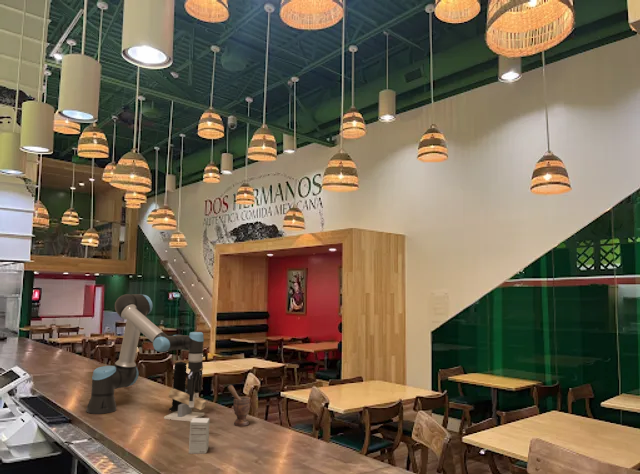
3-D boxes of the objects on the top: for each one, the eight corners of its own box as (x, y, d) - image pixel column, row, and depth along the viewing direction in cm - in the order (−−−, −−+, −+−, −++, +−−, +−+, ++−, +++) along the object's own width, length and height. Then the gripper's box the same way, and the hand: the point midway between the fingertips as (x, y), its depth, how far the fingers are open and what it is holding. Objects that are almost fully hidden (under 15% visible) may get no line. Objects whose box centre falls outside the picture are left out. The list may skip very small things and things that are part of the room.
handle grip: (165, 410, 277) (182, 411, 275) (168, 362, 280) (184, 363, 278) (174, 406, 287) (190, 407, 285) (176, 360, 290) (192, 361, 288)
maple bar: (168, 397, 265) (170, 389, 266) (172, 395, 269) (174, 388, 270) (200, 409, 260) (202, 402, 261) (204, 408, 264) (206, 401, 264)
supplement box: (191, 448, 212) (192, 417, 213) (208, 448, 212) (210, 417, 214) (187, 453, 204) (189, 422, 206) (206, 453, 205) (207, 422, 206)
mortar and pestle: (233, 428, 244) (234, 386, 246) (223, 425, 250) (225, 384, 252) (252, 425, 251) (254, 384, 254) (243, 421, 258) (245, 382, 260)
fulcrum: (164, 418, 259) (164, 404, 260) (177, 412, 272) (178, 399, 273) (192, 421, 255) (192, 407, 256) (204, 415, 269) (204, 401, 270)
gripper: (194, 363, 257) (192, 410, 254) (208, 359, 274) (207, 403, 271) (181, 363, 259) (179, 409, 256) (196, 359, 275) (194, 402, 273)
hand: (193, 406), depth 264 cm, fingers closed on maple bar, 4 cm apart
